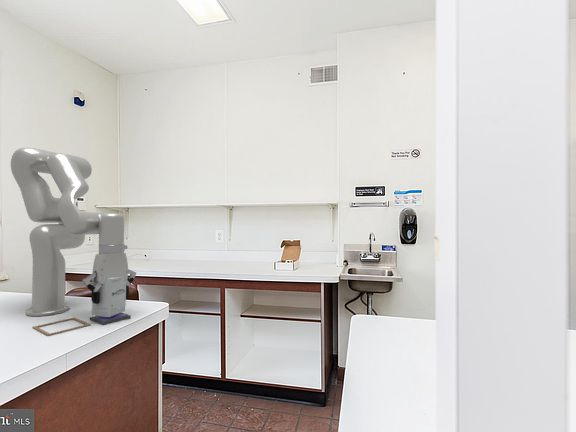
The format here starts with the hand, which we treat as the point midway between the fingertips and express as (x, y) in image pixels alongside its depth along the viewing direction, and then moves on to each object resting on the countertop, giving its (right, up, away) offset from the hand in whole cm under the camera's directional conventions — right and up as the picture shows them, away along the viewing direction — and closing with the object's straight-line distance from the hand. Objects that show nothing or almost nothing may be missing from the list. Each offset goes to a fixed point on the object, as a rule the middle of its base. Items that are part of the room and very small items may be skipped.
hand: (110, 300), depth 107 cm
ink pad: (0, -6, 0) cm, 6 cm away
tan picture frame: (-11, -6, -8) cm, 15 cm away
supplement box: (-1, -5, 0) cm, 5 cm away
